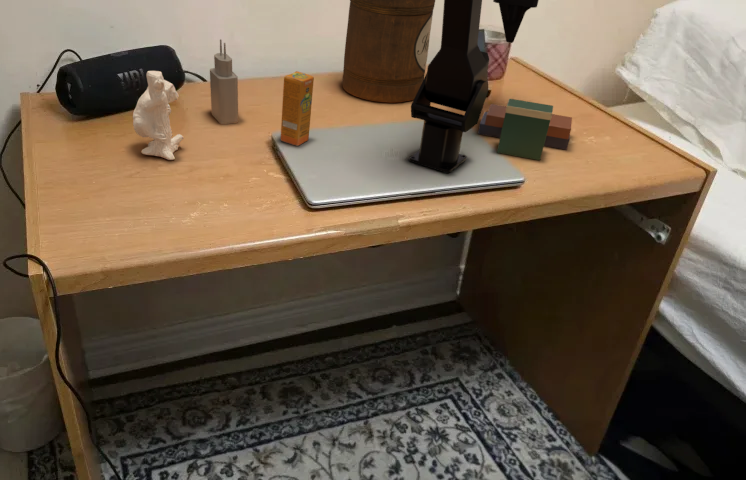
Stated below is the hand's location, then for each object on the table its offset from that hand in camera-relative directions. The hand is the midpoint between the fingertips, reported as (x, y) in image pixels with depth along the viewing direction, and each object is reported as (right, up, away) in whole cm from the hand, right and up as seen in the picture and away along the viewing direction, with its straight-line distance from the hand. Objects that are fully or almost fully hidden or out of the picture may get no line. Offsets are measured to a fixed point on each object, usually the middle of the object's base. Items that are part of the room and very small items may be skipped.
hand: (509, 42), depth 106 cm
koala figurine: (-53, -20, -12) cm, 58 cm away
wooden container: (-19, -3, +17) cm, 26 cm away
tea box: (+1, -18, -3) cm, 18 cm away
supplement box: (-34, -17, -6) cm, 38 cm away
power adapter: (-46, -12, 0) cm, 47 cm away
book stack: (+3, -15, +2) cm, 15 cm away
